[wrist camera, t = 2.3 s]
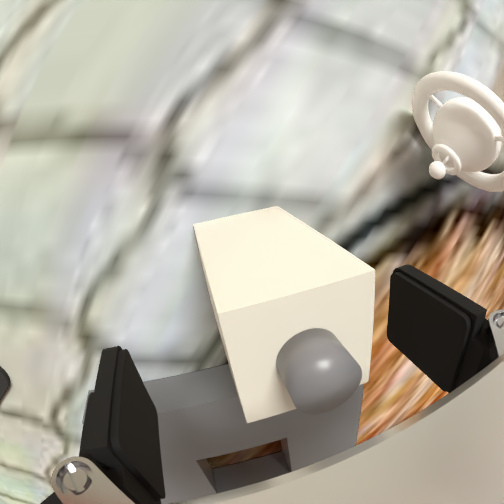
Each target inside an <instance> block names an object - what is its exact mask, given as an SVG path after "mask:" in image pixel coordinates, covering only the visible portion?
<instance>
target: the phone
mask: <svg viewBox="0 0 504 504" xmlns="http://www.w3.org/2000/svg"><path fill="white" fill-rule="evenodd" d="M9 385H10V378H9V376H8V374H7V373H6V372H5V370H4V369H3V368H2V367H0V400H1V398H2V397H3V395H4V394H5V392H6V391H7V389H8V387H9Z"/></svg>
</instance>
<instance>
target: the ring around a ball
mask: <svg viewBox="0 0 504 504" xmlns="http://www.w3.org/2000/svg"><path fill="white" fill-rule="evenodd" d="M442 90H449V91H454V92H457V93H460V94H463V95H465V96H467V97H457V98H453V99H451V100H448V101H447V102H445V103H444V104H443V105H442V104H441V103H440V102H439V101H438V100H437V99H436V98H435V97H434V96H433V95H432V94H434V93H435V92H437V91H442ZM468 97H469V98H468ZM429 99H431V100H432V101H433V102H434V103H435V104H436V105H437V106H438V107H439V109H438V111H437V113H436V115H435V117H434V120H433V124H432V122H431V119H430V116H429V112H428V102H429ZM412 111H413V115H414V119H415V122H416V125H417V127H418V129H419V131H420V133H421V135H422V137H423V138H424V140H425V142H426V143H427V145H428V146H429V148H430V149H431V150H432V157H433V159H434V162H432V163H431V164H430V166H429V173H430V175H431V176H432V177H433V178H435V179H441V178H443V177H444V176H445V174H446V173H448V174H450V175H457V176H458V177H460V178H461V179H462V180H464V181H466V182H467V183H469V184H471V185H473V186H475V187H477V188H480V189H483V190H486V191H491V192H501V191H504V171H503V172H502V173H500V174H486V173H483V172H480V171H482V170H484V169H486V168H488V167H489V166H490V165H491V164H492V163H493V162H494V161H495V160H496V158H497V156H498V154H499V152H500V148H501V142H504V136H501V131H502V132H503V134H504V103H503V102H502V101H501V99H500V98H499V97H498V96H497V95H495V94H494V93H493V92H492V91H491V90H490V89H489V88H487V87H486V86H484V85H483V84H481V83H480V82H478V81H476V80H474V79H472V78H470V77H468V76H466V75H463V74H460V73H456V72H450V71H438V72H434V73H430V74H428V75H426V76H424V77H423V78H422V79H421V80H420V81H419V82H418V83H417V85H416V86H415V88H414V91H413V94H412ZM500 129H501V130H500Z"/></svg>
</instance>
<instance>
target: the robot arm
mask: <svg viewBox="0 0 504 504" xmlns="http://www.w3.org/2000/svg"><path fill="white" fill-rule="evenodd" d="M486 311H487V309H485V308H483V307H482V306H480V305H478V304H477V303H475V302H473V301H472V300H470V299H468V298H467V297H465V296H463V295H462V294H460V293H458V292H457V291H455V290H453V289H452V288H450V287H448V286H446V285H445V284H443V283H441V282H439V281H438V280H436V279H434V278H432V277H431V276H429V275H427V274H425V273H424V272H422V271H420V270H418V269H416V268H415V267H413V266H411V265H404V266H401V267H399V268H396V269H395V270H394V271H393V274H392V275H391V278H390V298H389V313H388V325H387V337H388V339H389V341H390V342H391V343H392V344H393V345H394V346H395V347H396V348H397V349H399V350H400V351H401V352H402V353H403V354H404V355H405V356H406V357H407V358H408V359H409V360H411V361H412V362H413V363H414V364H415V365H416V366H417V367H418V368H419V369H420V370H421V371H422V372H424V373H425V374H426V375H427V376H428V377H429V378H430V379H431V380H432V381H433V382H434V383H435V384H436V385H438V386H439V387H440V388H441V389H442V390H443V391H447V392H449V394H447V395H446V396H444V397H443V398H441V399H440V400H438V401H437V402H435V403H433V404H432V405H430V406H429V407H427V408H425V409H424V410H422V411H420V412H419V413H417V414H415V415H414V416H412V417H410V418H409V419H407V420H405V421H403V422H402V423H400V424H398V425H396V426H394V427H392V428H391V429H389V430H387V431H385V432H383V433H381V434H379V435H377V436H375V437H373V438H371V439H369V440H367V441H365V442H363V443H361V444H359V445H356V446H354V447H352V448H350V449H348V450H345V451H343V452H341V453H339V454H336V455H334V456H332V457H329V458H327V459H324V460H322V461H319V462H317V463H314V464H312V465H309V466H307V467H304V468H301V469H298V470H296V471H293V472H290V473H287V474H284V475H281V476H278V477H275V478H272V479H268V480H265V481H262V482H258V483H255V484H251V485H248V486H244V487H241V488H237V489H233V490H229V491H225V492H221V493H217V494H213V495H208V496H204V497H199V498H194V499H189V500H184V501H179V502H175V503H170V504H504V310H496V311H494V312H492V313H491V314H490V316H489V319H488V320H487V319H485V316H486ZM51 483H52V488H53V490H54V493H52V494H51V495H50V496H49V497H48V498H47V499H45V500H44V501H43V502H42V503H41V504H161V499H165V496H166V494H165V486H164V478H163V469H162V460H161V450H160V439H159V426H158V414H157V410H156V407H155V405H154V403H153V401H152V399H151V397H150V395H149V393H148V391H147V389H146V387H145V385H144V383H143V381H142V379H141V377H140V375H139V373H138V371H137V369H136V367H135V365H134V362H133V360H132V358H131V356H130V354H129V352H128V350H127V349H125V350H122V348H121V347H120V346H117V347H112V348H107V349H103V351H102V355H101V359H100V364H99V369H98V374H97V379H96V385H95V390H94V392H91V393H90V394H89V397H88V401H87V407H86V413H85V419H84V425H83V431H82V438H81V445H80V453H79V457H71V458H67V459H66V460H64V461H62V462H61V463H60V464H59V465H58V466H57V467H56V468H55V470H54V471H53V474H52V478H51Z"/></svg>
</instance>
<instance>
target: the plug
mask: <svg viewBox="0 0 504 504" xmlns="http://www.w3.org/2000/svg"><path fill="white" fill-rule="evenodd" d="M193 226H194V231H195V235H196V240H197V244H198V249H199V253H200V257H201V262H202V266H203V270H204V275H205V279H206V283H207V287H208V291H209V295H210V300H211V303H212V307H213V311H214V314H215V318H216V322H217V325H218V329H219V332H220V336H221V339H222V343H223V346H224V350H225V353H226V357H227V360H228V363H229V367H230V370H231V373H232V377H233V380H234V383H235V387H236V390H237V393H238V396H239V399H240V403H241V406H242V409H243V412H244V415H245V418H246V421H247V423H250V422H254V421H258V420H261V419H265V418H268V417H271V416H275V415H278V414H281V413H285V412H288V411H291V410H294V409H298V410H299V411H300V412H302V413H305V414H312V415H313V414H321V413H325V412H328V411H331V410H333V409H335V408H337V407H339V406H340V405H342V404H343V403H345V402H346V401H347V400H348V399H349V398H350V397H351V396H352V395H353V394H354V393H355V391H356V390H357V388H358V387H359V385H361V384H364V383H366V382H368V378H369V369H370V359H371V347H372V334H373V318H374V296H375V269H373V268H372V267H370V266H369V265H367V264H366V263H364V262H363V261H361V260H360V259H358V258H357V257H355V256H354V255H352V254H351V253H349V252H348V251H346V250H345V249H343V248H342V247H340V246H339V245H337V244H336V243H334V242H333V241H331V240H330V239H328V238H327V237H325V236H324V235H322V234H321V233H319V232H317V231H316V230H314V229H313V228H311V227H310V226H308V225H307V224H305V223H303V222H302V221H300V220H299V219H297V218H295V217H294V216H292V215H291V214H289V213H288V212H286V211H284V210H283V209H281V208H280V207H278V206H275V207H270V208H266V209H261V210H256V211H251V212H246V213H242V214H237V215H232V216H228V217H223V218H219V219H214V220H210V221H205V222H201V223H196V224H193Z"/></svg>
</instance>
